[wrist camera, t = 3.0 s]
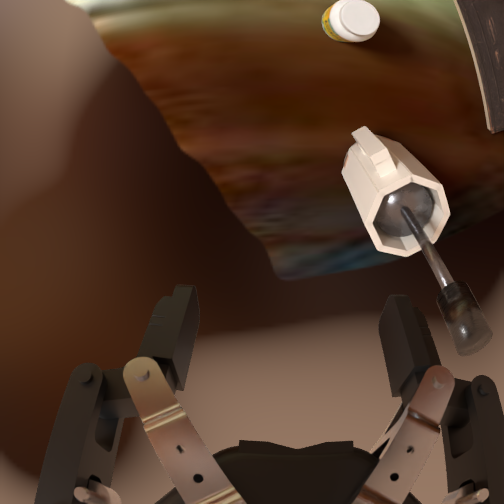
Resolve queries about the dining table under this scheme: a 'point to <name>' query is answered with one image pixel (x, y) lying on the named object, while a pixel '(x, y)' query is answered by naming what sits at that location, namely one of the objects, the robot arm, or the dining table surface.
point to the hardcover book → (487, 53)
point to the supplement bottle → (351, 21)
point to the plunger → (436, 267)
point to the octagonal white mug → (389, 187)
